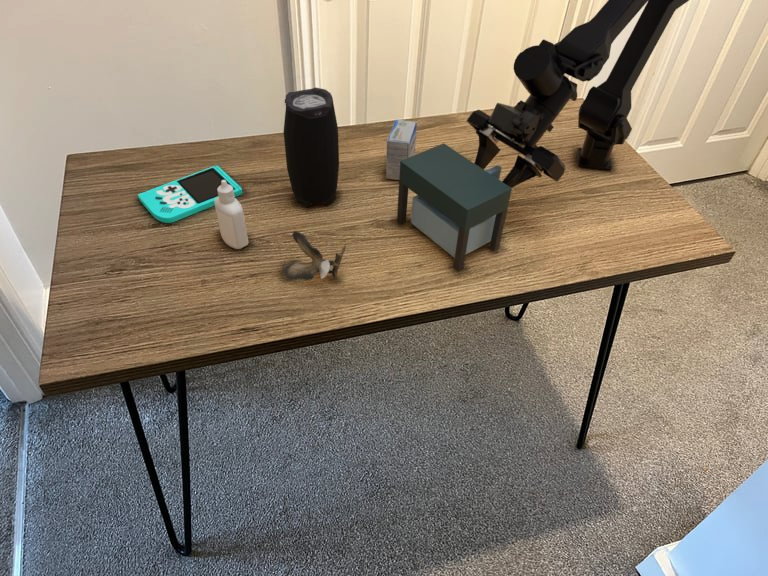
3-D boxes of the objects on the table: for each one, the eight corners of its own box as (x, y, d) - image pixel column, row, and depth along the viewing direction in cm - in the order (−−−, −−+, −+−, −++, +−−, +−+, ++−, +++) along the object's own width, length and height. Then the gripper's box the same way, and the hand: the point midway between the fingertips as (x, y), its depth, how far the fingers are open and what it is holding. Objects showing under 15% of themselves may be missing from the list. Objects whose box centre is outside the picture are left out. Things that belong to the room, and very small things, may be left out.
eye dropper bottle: (222, 252, 99) (210, 193, 90) (220, 231, 102) (208, 172, 94) (249, 249, 99) (239, 189, 91) (246, 228, 103) (236, 169, 95)
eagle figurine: (346, 251, 98) (294, 235, 98) (346, 240, 91) (290, 222, 91) (332, 295, 96) (279, 278, 96) (331, 287, 89) (273, 269, 89)
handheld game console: (138, 198, 108) (136, 192, 107) (217, 169, 116) (216, 163, 115) (162, 227, 103) (160, 220, 102) (244, 193, 110) (243, 187, 109)
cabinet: (437, 202, 110) (443, 142, 101) (499, 248, 101) (512, 188, 93) (396, 221, 106) (400, 160, 97) (457, 271, 97) (467, 210, 88)
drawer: (468, 194, 112) (476, 150, 105) (515, 227, 105) (526, 183, 98) (410, 222, 105) (413, 177, 98) (456, 259, 99) (463, 214, 92)
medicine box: (408, 182, 114) (410, 142, 108) (385, 179, 115) (386, 139, 109) (414, 160, 120) (417, 121, 114) (393, 157, 120) (394, 118, 114)
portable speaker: (281, 199, 109) (269, 99, 96) (315, 176, 115) (309, 79, 101) (315, 217, 106) (308, 117, 92) (349, 193, 111) (347, 95, 97)
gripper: (482, 63, 98) (425, 143, 100) (571, 109, 87) (505, 197, 90) (507, 95, 107) (454, 167, 110) (590, 140, 96) (530, 219, 99)
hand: (483, 186), depth 102 cm, fingers open, 6 cm apart
